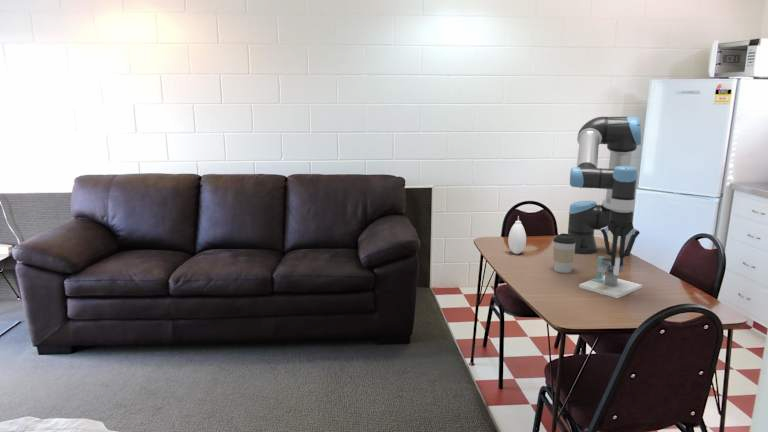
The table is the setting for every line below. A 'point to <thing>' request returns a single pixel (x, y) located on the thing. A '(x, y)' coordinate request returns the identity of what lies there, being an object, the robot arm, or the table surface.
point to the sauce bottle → (517, 238)
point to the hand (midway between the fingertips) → (615, 274)
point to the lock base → (609, 284)
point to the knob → (608, 266)
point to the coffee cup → (563, 252)
